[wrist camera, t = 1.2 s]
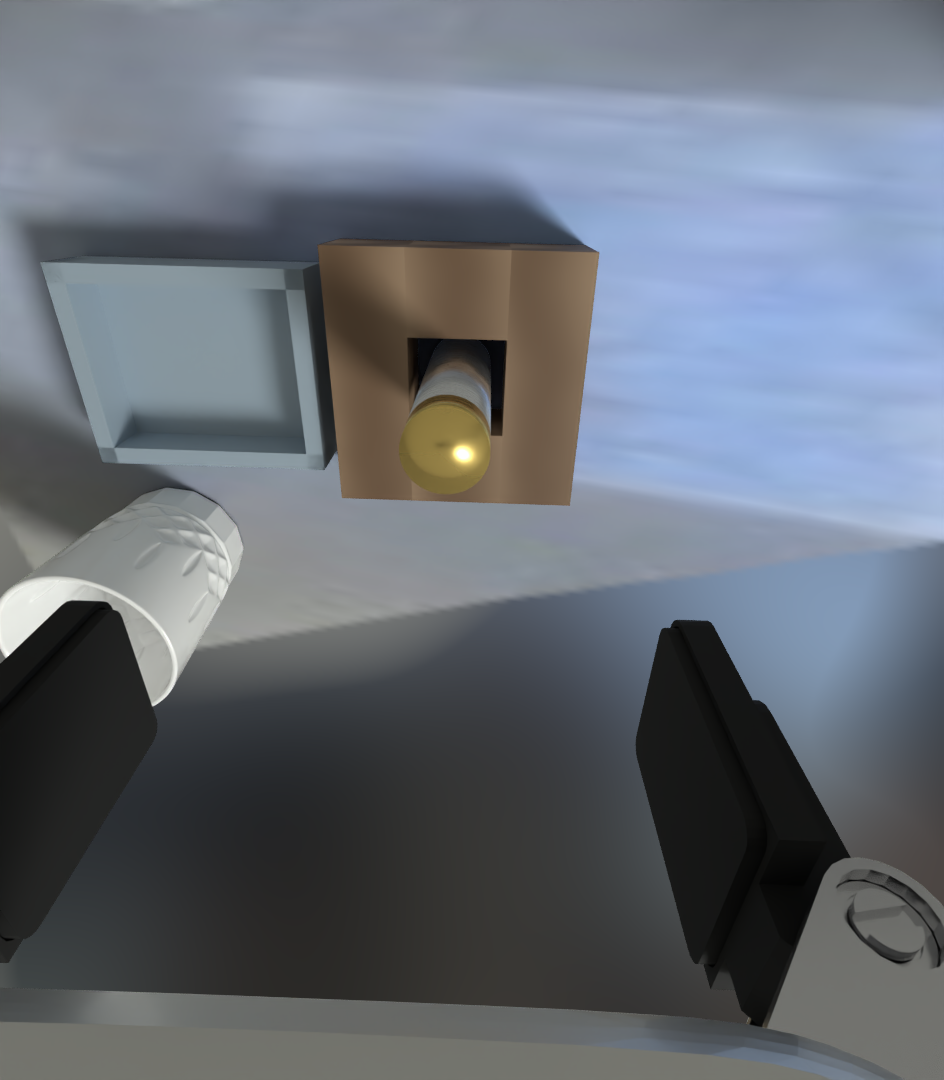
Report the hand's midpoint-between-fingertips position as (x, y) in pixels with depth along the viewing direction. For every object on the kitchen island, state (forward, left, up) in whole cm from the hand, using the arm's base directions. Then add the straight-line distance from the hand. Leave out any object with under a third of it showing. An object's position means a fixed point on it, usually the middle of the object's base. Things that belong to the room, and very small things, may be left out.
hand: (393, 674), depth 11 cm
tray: (+12, 0, -22) cm, 25 cm away
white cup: (+16, +10, -22) cm, 29 cm away
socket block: (0, 0, -22) cm, 22 cm away
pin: (0, 0, -22) cm, 22 cm away
